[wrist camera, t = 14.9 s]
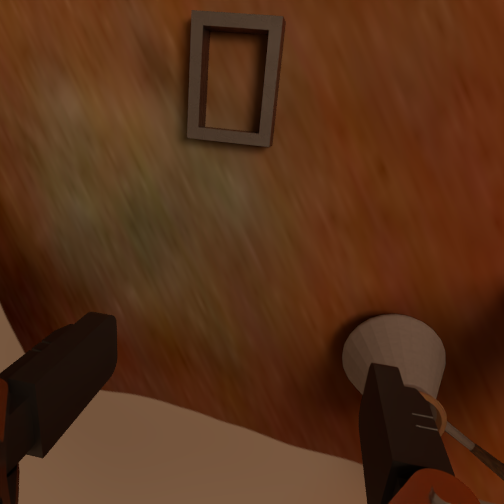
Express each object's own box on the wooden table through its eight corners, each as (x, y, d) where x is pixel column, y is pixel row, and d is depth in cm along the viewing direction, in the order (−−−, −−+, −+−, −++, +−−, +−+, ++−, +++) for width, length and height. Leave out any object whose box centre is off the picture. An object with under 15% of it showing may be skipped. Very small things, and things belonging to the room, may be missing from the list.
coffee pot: (323, 356, 50) (323, 448, 36) (374, 286, 46) (397, 359, 32) (468, 438, 50) (523, 560, 36) (532, 375, 46) (622, 486, 32)
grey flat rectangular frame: (285, 22, 39) (283, 16, 37) (272, 145, 43) (269, 147, 41) (199, 16, 40) (191, 10, 38) (194, 136, 44) (187, 137, 42)
